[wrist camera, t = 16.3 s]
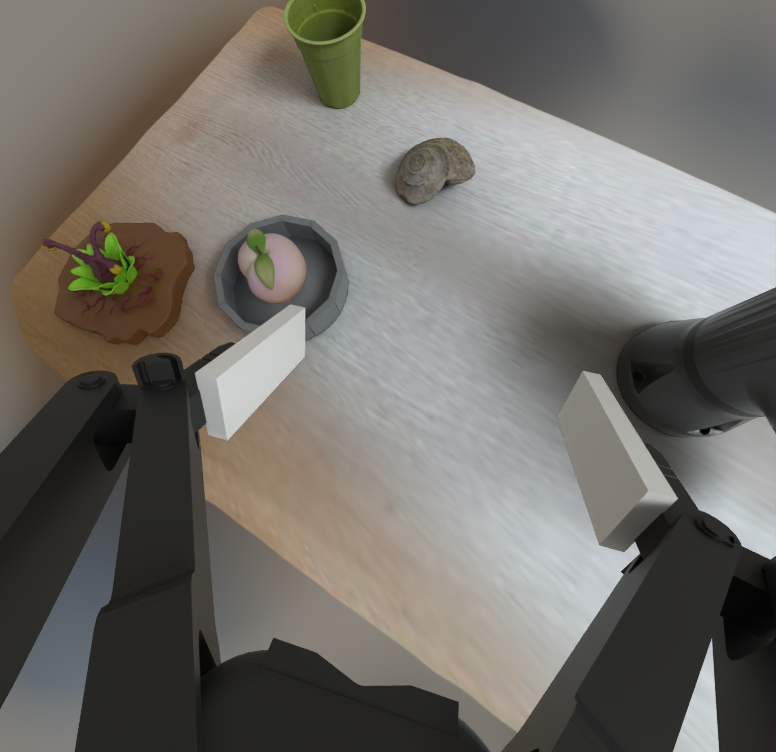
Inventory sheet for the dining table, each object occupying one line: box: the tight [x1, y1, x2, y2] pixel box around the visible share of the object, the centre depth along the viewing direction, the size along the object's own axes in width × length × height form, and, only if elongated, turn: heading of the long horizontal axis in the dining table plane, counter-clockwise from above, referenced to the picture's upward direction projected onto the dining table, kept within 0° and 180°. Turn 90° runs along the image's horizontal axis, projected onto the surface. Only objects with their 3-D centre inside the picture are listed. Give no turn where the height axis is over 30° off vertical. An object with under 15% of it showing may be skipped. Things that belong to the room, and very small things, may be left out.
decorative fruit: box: [238, 229, 306, 303], centre depth 44 cm, size 9×8×10 cm
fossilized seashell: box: [396, 138, 475, 204], centre depth 51 cm, size 11×11×7 cm
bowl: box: [214, 215, 349, 341], centre depth 48 cm, size 18×18×4 cm
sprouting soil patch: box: [41, 221, 194, 345], centre depth 47 cm, size 20×20×11 cm
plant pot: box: [284, 0, 366, 108], centre depth 52 cm, size 12×12×11 cm
